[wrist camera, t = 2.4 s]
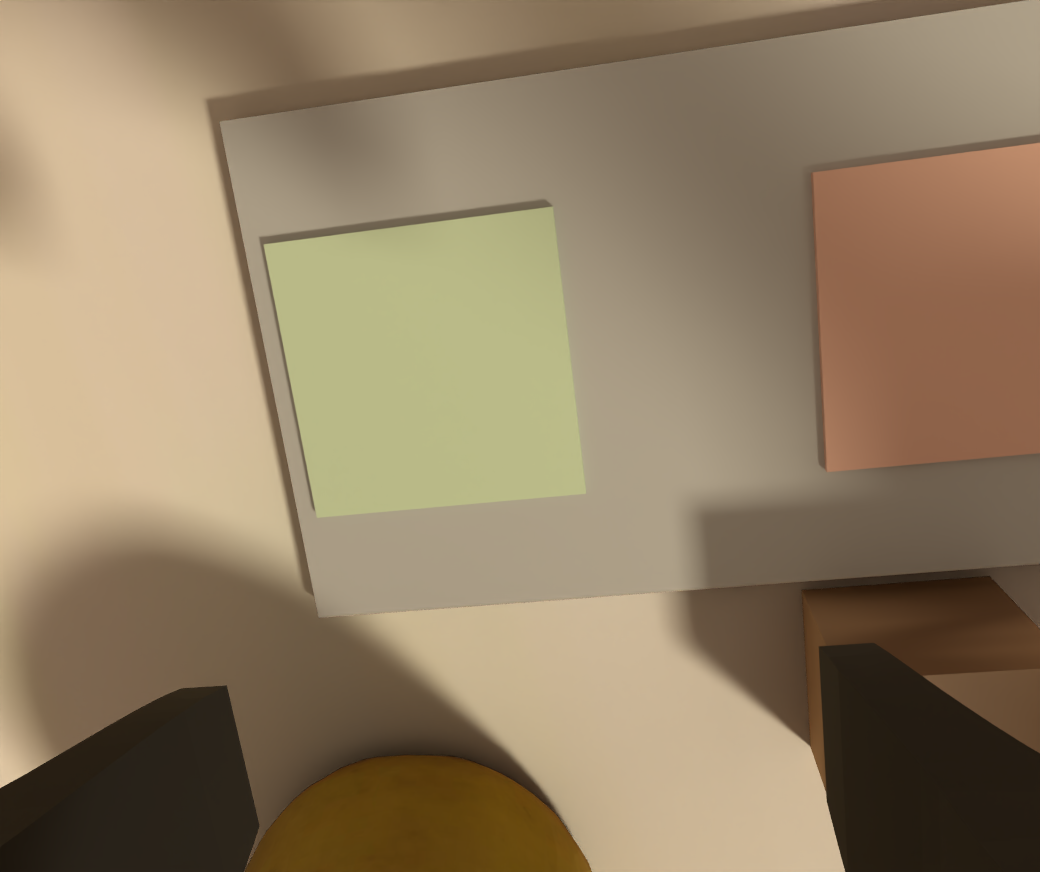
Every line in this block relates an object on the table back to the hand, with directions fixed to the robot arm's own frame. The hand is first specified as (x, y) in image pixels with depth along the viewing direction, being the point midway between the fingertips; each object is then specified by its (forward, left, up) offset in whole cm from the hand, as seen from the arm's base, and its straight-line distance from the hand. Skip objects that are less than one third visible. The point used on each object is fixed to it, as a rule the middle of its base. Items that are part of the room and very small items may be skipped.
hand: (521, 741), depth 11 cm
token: (-7, +5, -10) cm, 13 cm away
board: (-3, -3, -10) cm, 11 cm away
